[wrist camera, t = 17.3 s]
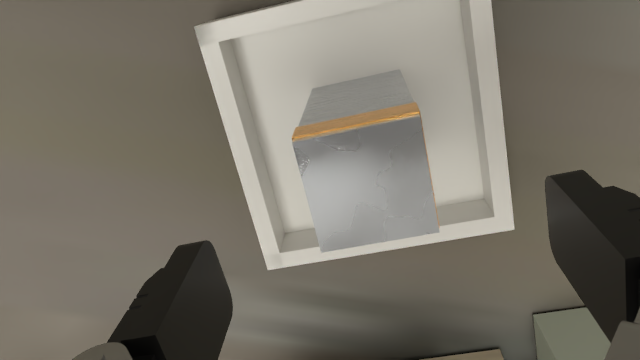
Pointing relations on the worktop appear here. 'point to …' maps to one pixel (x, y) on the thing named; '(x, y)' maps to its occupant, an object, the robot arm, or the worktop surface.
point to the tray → (348, 64)
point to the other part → (569, 336)
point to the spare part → (365, 163)
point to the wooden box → (473, 356)
